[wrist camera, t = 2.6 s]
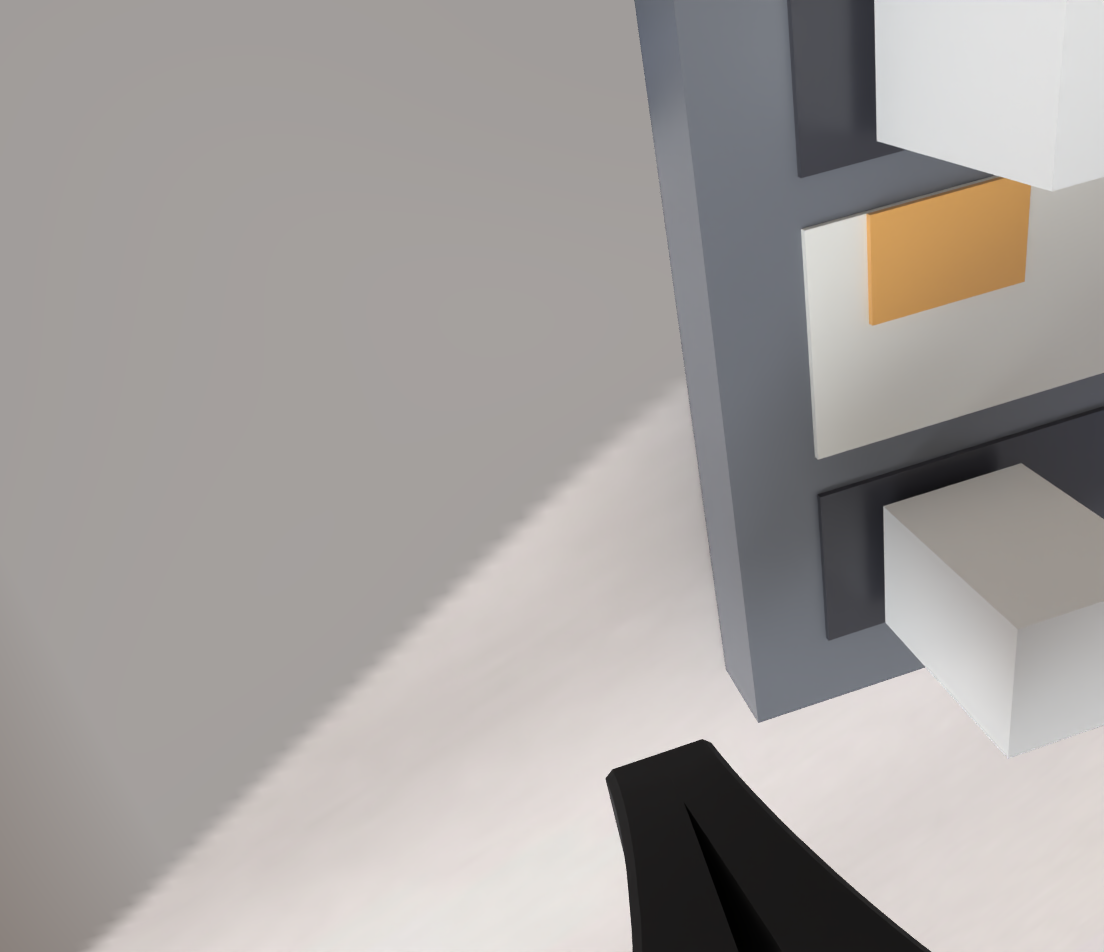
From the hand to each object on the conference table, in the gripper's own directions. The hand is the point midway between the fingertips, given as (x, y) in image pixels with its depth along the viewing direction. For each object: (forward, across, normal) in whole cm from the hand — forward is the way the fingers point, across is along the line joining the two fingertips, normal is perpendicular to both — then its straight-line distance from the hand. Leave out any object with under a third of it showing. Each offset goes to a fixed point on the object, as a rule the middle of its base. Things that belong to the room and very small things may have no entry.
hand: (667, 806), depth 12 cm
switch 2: (+3, -6, 0) cm, 7 cm away
